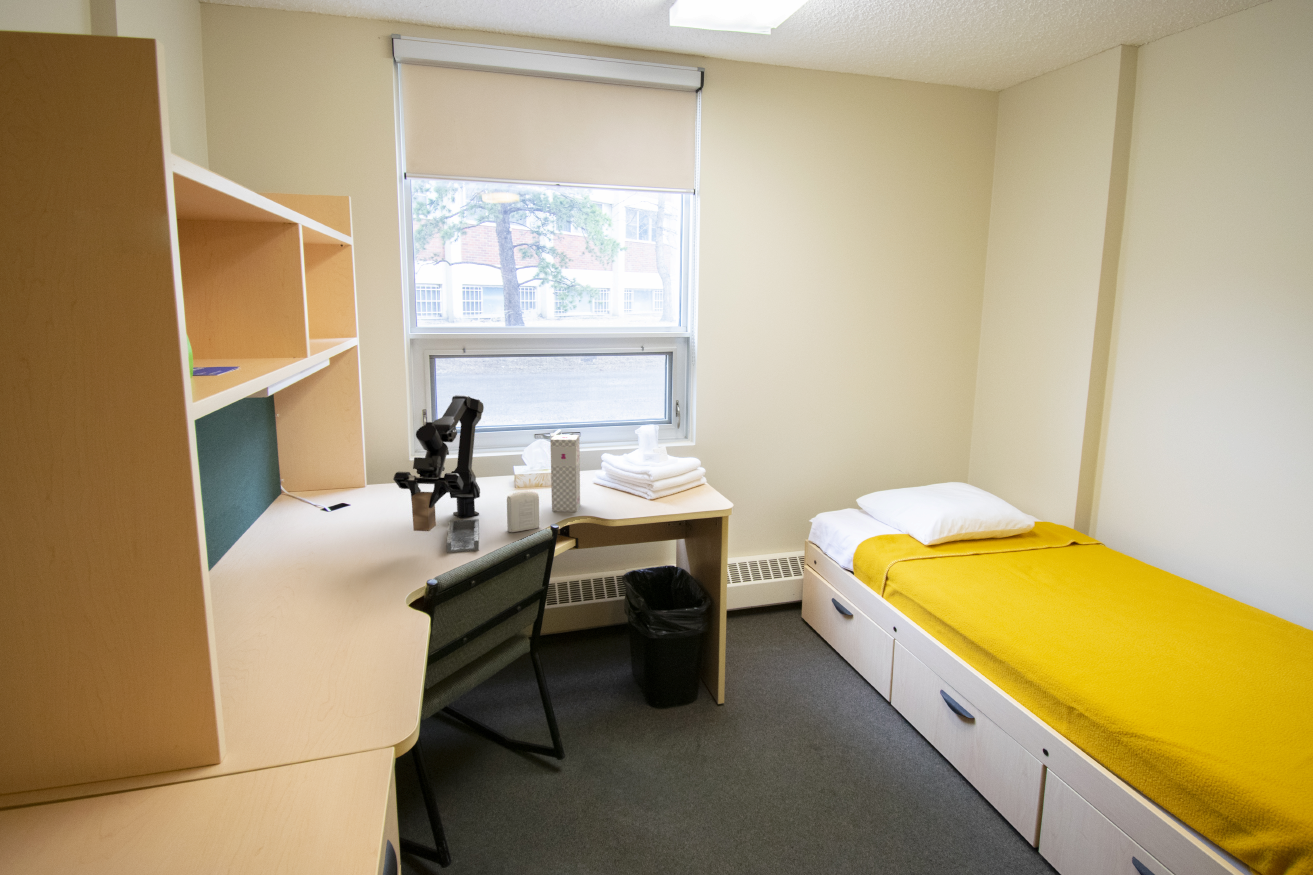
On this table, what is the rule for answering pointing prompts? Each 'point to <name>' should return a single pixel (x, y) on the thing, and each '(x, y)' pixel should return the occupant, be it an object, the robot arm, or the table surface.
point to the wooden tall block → (423, 512)
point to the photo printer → (522, 511)
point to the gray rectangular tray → (463, 536)
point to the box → (565, 473)
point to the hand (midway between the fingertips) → (421, 507)
